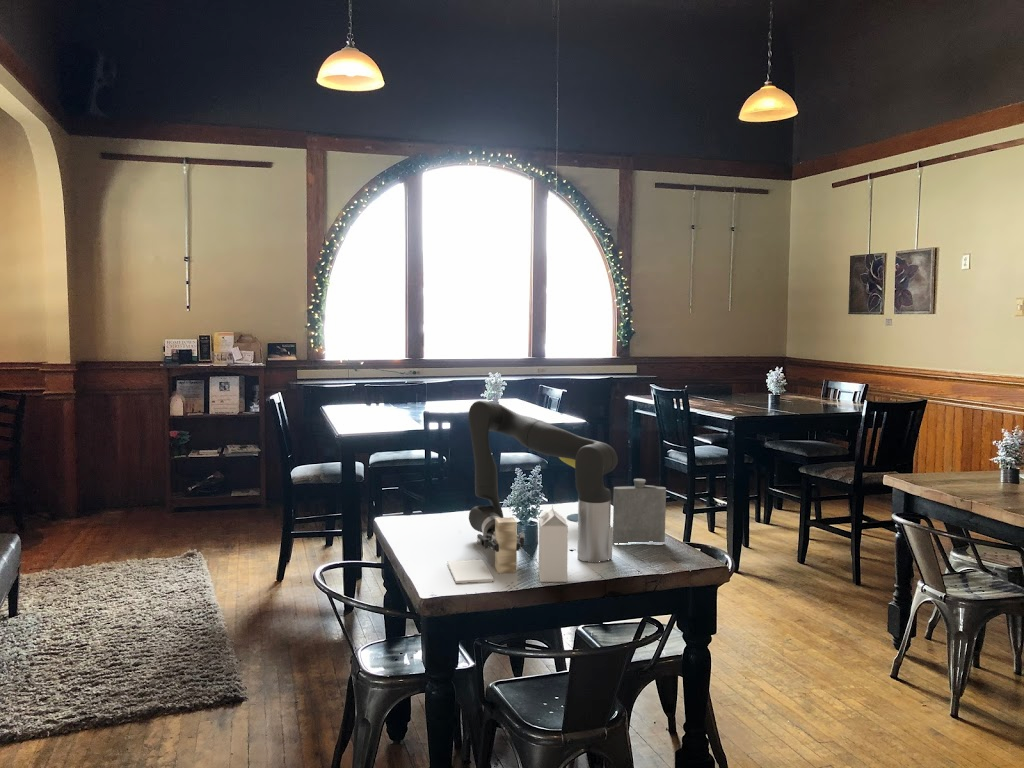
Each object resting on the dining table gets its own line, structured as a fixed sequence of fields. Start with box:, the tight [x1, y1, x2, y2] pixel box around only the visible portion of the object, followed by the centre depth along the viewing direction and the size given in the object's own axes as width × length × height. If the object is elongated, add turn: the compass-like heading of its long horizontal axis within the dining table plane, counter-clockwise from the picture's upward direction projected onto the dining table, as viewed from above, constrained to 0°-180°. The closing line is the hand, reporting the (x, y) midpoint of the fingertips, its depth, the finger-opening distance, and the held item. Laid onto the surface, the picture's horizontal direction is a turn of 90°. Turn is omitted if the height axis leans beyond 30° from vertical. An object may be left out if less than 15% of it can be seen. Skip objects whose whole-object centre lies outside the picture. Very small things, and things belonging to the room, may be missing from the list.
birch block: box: [494, 516, 518, 574], centre depth 233 cm, size 5×5×14 cm
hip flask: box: [612, 478, 667, 544], centre depth 259 cm, size 16×4×20 cm, turn 92°
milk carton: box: [538, 504, 569, 583], centre depth 226 cm, size 7×7×19 cm
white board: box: [447, 559, 495, 584], centre depth 231 cm, size 10×17×1 cm, turn 12°
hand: (507, 547), depth 230 cm, fingers closed on birch block, 5 cm apart
